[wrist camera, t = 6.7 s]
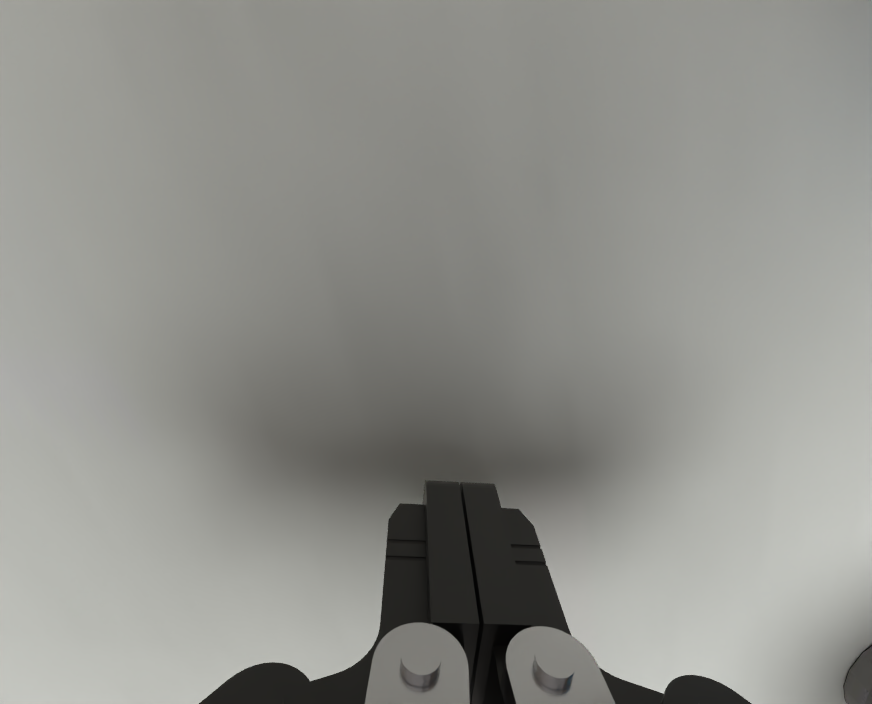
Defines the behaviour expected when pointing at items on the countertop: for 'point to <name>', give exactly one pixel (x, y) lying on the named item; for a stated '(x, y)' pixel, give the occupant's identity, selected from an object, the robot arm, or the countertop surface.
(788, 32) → the countertop surface
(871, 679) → the beverage cup
